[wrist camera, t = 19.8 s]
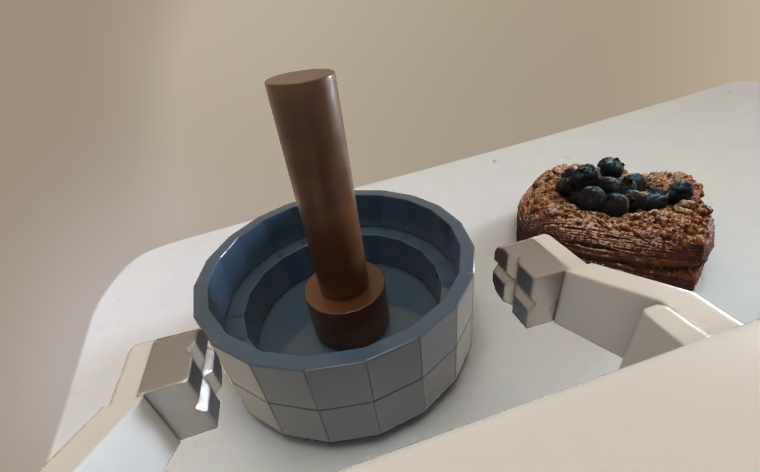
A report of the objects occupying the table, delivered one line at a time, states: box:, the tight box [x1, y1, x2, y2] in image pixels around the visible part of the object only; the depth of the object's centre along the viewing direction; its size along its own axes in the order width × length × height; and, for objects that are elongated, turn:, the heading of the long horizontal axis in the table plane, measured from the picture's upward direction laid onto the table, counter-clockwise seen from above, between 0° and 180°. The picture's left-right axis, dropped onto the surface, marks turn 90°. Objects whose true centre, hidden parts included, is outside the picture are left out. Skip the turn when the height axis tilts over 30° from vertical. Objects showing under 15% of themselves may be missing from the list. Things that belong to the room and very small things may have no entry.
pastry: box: [517, 157, 715, 291], centre depth 26 cm, size 11×12×6 cm
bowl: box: [194, 190, 474, 442], centre depth 21 cm, size 14×14×6 cm
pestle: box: [265, 69, 390, 351], centre depth 18 cm, size 5×5×14 cm
